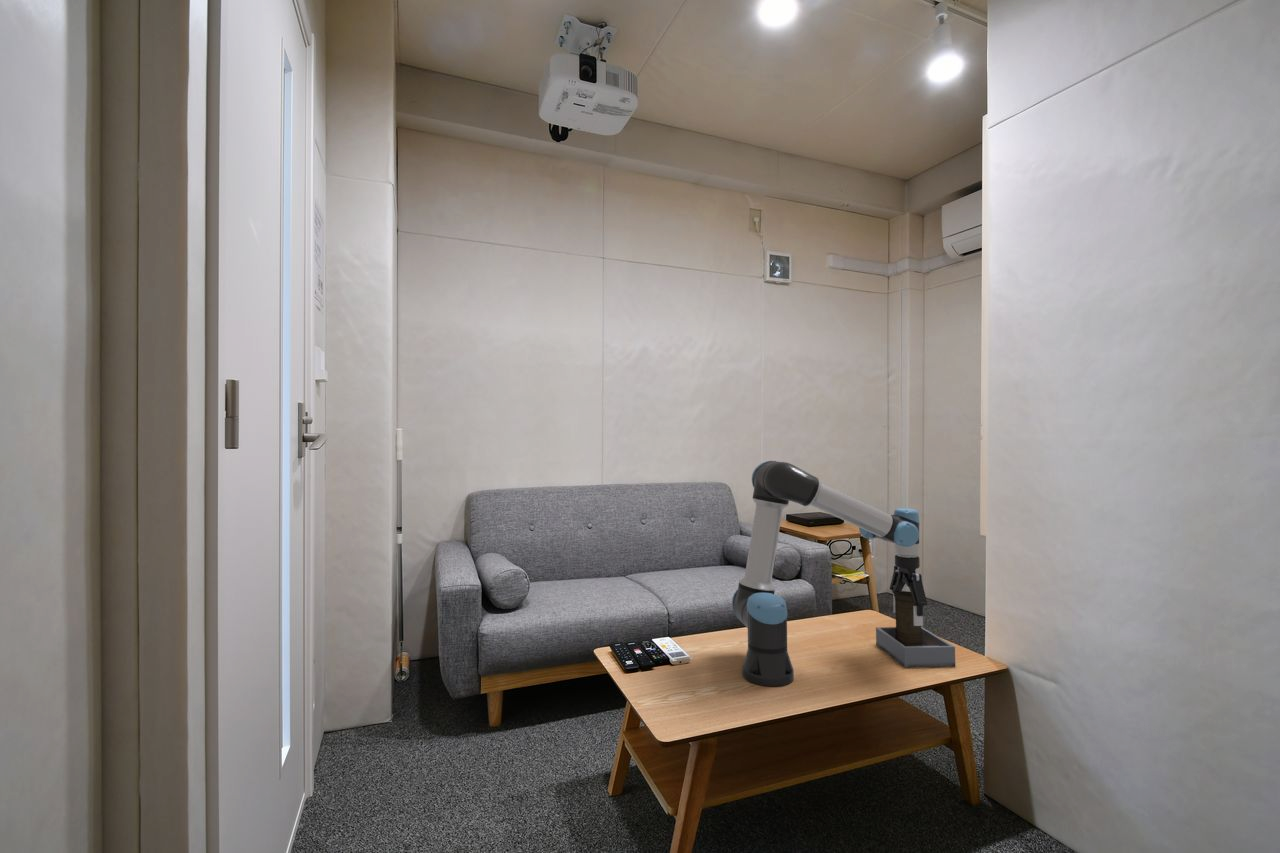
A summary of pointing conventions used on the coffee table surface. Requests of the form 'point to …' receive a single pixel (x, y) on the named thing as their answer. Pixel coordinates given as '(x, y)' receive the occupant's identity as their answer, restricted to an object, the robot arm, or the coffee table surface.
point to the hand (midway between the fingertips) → (907, 619)
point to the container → (906, 620)
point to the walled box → (916, 649)
